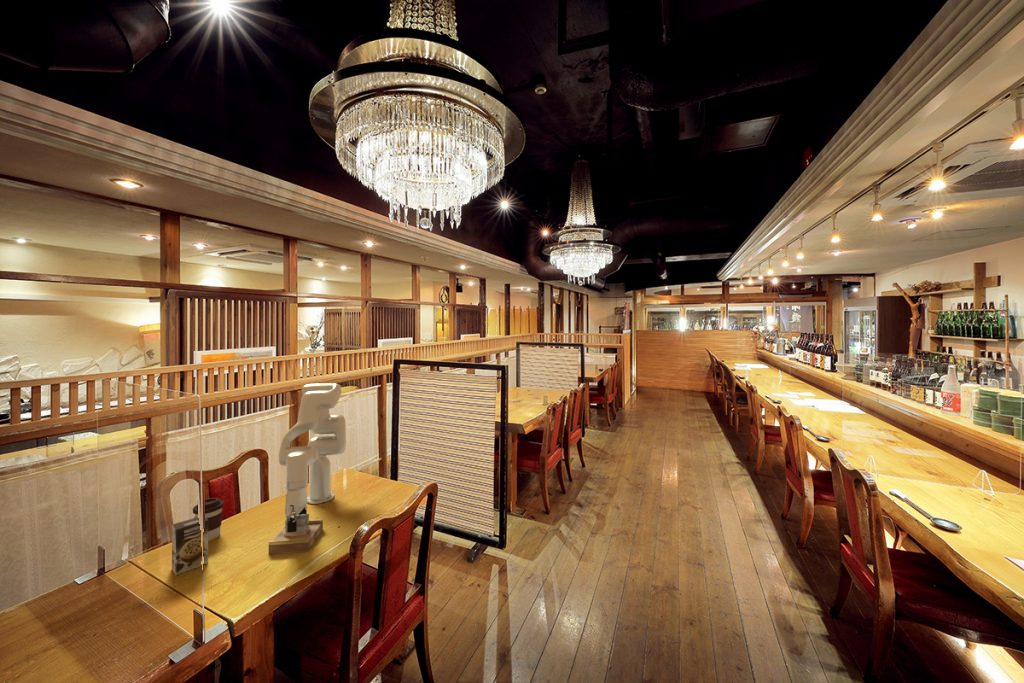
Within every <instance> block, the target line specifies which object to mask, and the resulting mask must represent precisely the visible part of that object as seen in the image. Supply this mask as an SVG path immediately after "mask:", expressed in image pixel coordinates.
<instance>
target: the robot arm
mask: <svg viewBox="0 0 1024 683" xmlns="http://www.w3.org/2000/svg"><path fill="white" fill-rule="evenodd" d="M301 394H302V396H301V399H300V404H299V410H298V415H297V422H296V423H295V424H294V425H293V426H292V427H291V428H289V429H288V431H287V432H286V433H285V434H284V436H283V438H282V439H281V442H280V447H279V452H278V463H279V465H280V466H283V467H286V468H285V470H286V471H285V472H286V473H285V474H286V475H285V476H286V480H285V482H286V486H285V487H286V494H285V502H284V516H285V518H286V520H287V532H296V531H297V521H296V517H297V515H299V514H308V513H307V512H308V511H307V510H308V506H307V505H308V504H311V505H318V504H323V502H324V503H327V502H329V501H332V500H333V498H334V497H335V493H334V492H333V491H331V487H332V485H331V483H332V481H331V480H332V478H331V476H332V475H331V473H332V472H331V471H332V469H331V465H332V464H331V461H330V459H329V458H328V456H337V455H338V456H339V455H342V454H344V453H345V451H346V448H347V439H346V438H347V434H346V433H347V432H346V430H347V429H346V419H345V417H344V416H343V415H342V414H331V413H330V409H334V408H335V407H336V406H337V404H338V403H339V402H338V401H339V400H340V398H341V396H342V387H341V385H340V384H339V383H333V382H332V383H330V382H329V383H327V382H326V383H319V382H318V383H308V384H305V385H303V386H302V387H301ZM309 431H310V432H311V433H312V434H313V435H321V436H315V437H312V438H310V440H308V442H307V445H304V446H291V444H292V442H293V441H294V439H296V438H297V437H299V436H300V435H302V434H305V433H307V432H309ZM332 434H333V435H332ZM322 435H323V436H322ZM324 435H325V436H324ZM308 470H309V471H308ZM308 477H309V478H308ZM308 484H309V495H308V489H307V487H308ZM291 516H294V519H293V518H292V517H291ZM286 520H285V521H286Z"/></svg>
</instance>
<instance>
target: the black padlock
mask: <svg viewBox="0 0 1024 683" xmlns="http://www.w3.org/2000/svg"><path fill="white" fill-rule="evenodd" d="M291 517H292V518H293V519H294V516H291ZM309 520H310V514H309V513H307V514H299V515H297V517H296V521H297V531H296V532H287V520H285V522H284V523H285V526H284V527H285V533H284V536H298V535H306V534H307V533H308V531H309V530H310V526H309Z"/></svg>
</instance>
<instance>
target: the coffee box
mask: <svg viewBox="0 0 1024 683" xmlns="http://www.w3.org/2000/svg"><path fill="white" fill-rule="evenodd" d="M203 557H204V564H205V565H207V564H209V541H208V519H207V518H206V517H205V528H204V532H203ZM201 561H202V547H201V530H200V524H199V518H198V517H196V518H194V517H192V518H190V519H187V520H183V521H179V522H176V523H173V524H172V525H171V570H172V571H173V572H172V573H173V574H174V573H175V574H174V575H175V576H178V575H177V574H179V575H181V574H180V573H182V574H184V573H186V572H185V571H187V572H189V571H192V570H194V569H193V568H195V569H197V568H200V567H202V566H201ZM191 569H192V570H191ZM188 570H189V571H188ZM183 572H184V573H183Z"/></svg>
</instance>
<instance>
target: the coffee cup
mask: <svg viewBox="0 0 1024 683" xmlns="http://www.w3.org/2000/svg"><path fill="white" fill-rule="evenodd" d="M204 500H205V517H206V518H207V519H208V542H209V541H212V540H215V539H217V538H218V537H219V536H220V535H221V528H222V521H223V520H222V519H223V507H225V501H224V500H222V499H220V498H218V497H210V498H205V499H204ZM192 514H194V517H193V518H196V517H198V503H197V504H196V505H194V506H193V507H192Z"/></svg>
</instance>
